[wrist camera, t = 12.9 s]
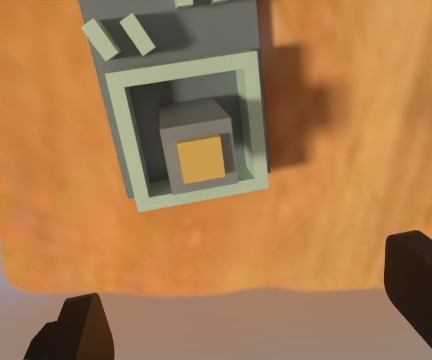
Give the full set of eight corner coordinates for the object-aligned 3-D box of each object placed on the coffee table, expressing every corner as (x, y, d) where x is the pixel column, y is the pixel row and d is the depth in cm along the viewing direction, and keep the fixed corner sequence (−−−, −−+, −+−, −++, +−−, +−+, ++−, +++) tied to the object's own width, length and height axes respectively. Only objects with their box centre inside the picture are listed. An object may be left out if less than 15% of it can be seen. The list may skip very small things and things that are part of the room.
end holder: (246, 49, 27) (256, 50, 24) (258, 174, 31) (268, 188, 28) (110, 70, 26) (104, 73, 23) (140, 196, 30) (138, 212, 27)
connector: (211, 96, 28) (232, 119, 20) (218, 146, 29) (240, 186, 21) (159, 105, 27) (159, 132, 19) (169, 155, 29) (172, 199, 21)
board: (243, -93, 25) (257, -115, 21) (266, 167, 32) (279, 183, 28) (63, -72, 24) (47, -91, 20) (129, 192, 31) (125, 211, 27)
